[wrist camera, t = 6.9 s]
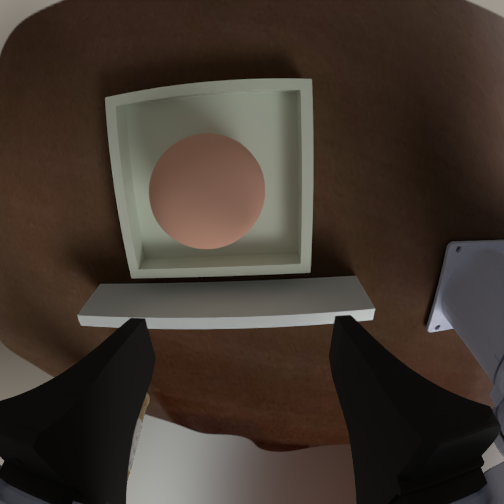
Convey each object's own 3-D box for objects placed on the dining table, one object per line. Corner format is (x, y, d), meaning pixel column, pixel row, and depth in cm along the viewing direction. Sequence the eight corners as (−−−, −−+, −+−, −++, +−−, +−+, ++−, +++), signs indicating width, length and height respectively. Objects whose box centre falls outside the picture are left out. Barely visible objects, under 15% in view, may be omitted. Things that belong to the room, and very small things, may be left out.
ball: (260, 128, 16) (266, 133, 11) (263, 223, 19) (270, 267, 14) (160, 135, 16) (124, 145, 11) (170, 228, 19) (144, 271, 14)
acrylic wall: (356, 275, 21) (375, 308, 17) (354, 285, 21) (372, 319, 17) (100, 283, 21) (77, 315, 17) (103, 293, 21) (80, 325, 18)
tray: (305, 82, 16) (311, 79, 14) (305, 257, 20) (310, 272, 18) (119, 98, 16) (104, 97, 14) (140, 263, 20) (131, 278, 19)
